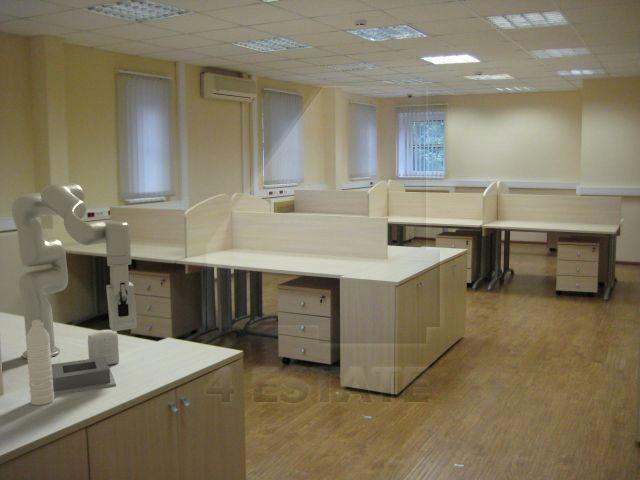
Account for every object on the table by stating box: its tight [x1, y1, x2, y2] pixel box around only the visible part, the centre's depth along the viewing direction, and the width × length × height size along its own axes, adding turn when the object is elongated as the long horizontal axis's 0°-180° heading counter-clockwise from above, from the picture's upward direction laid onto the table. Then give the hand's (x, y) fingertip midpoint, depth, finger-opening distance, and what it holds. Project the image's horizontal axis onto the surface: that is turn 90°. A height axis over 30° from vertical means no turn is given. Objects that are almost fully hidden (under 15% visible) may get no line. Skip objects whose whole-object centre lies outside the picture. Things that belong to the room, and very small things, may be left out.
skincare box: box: [106, 281, 138, 332], centre depth 215 cm, size 8×6×15 cm
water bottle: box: [25, 320, 55, 406], centre depth 193 cm, size 9×6×25 cm
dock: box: [51, 357, 117, 397], centre depth 211 cm, size 18×20×5 cm
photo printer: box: [87, 329, 120, 366], centre depth 228 cm, size 10×4×12 cm, turn 123°
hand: (122, 313), depth 215 cm, fingers closed on skincare box, 5 cm apart
